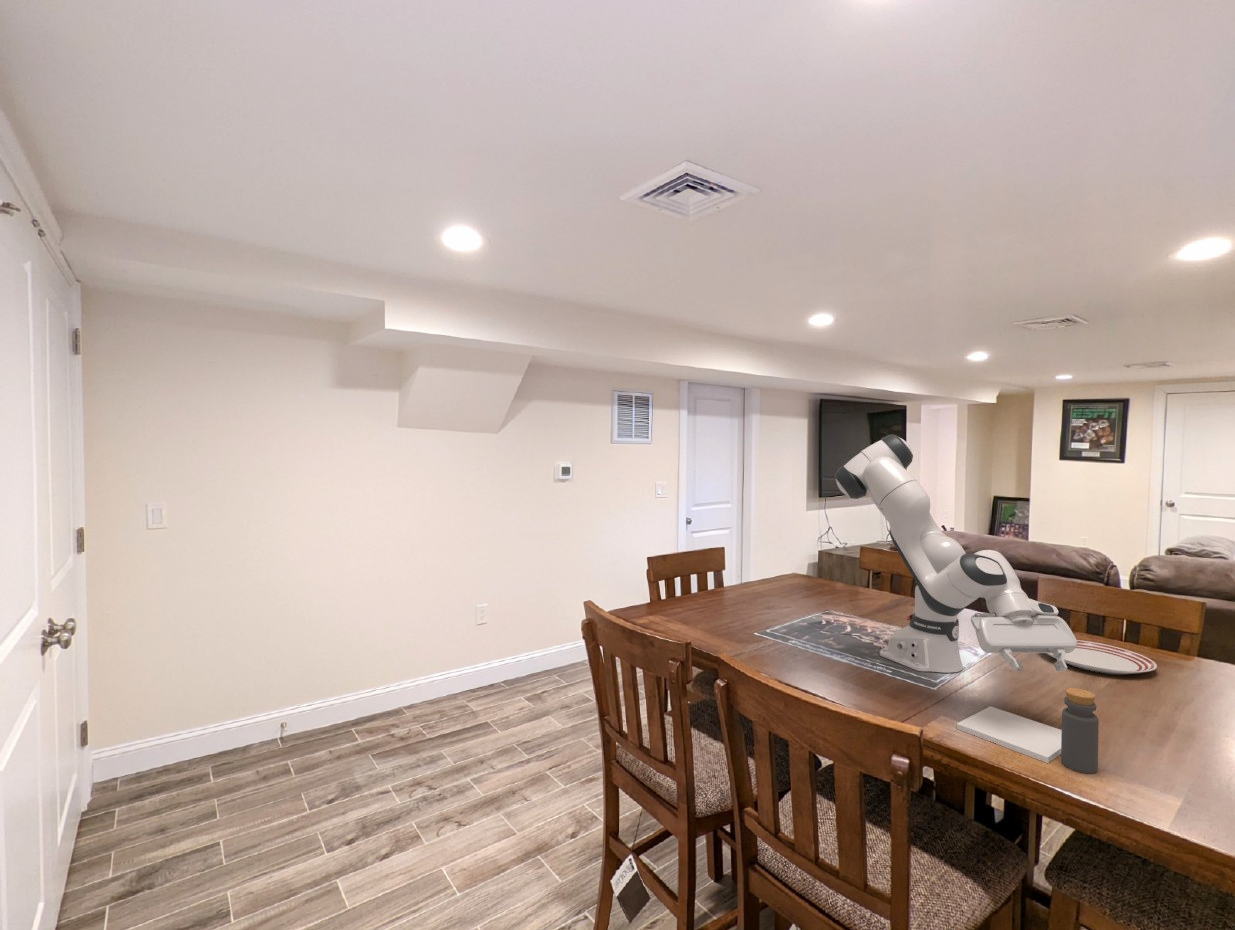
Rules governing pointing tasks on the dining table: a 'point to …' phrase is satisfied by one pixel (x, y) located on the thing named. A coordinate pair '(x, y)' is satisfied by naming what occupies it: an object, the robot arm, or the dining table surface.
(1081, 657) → the dinner plate
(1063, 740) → the bottle
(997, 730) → the grey board
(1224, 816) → the dining table surface
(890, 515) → the robot arm
